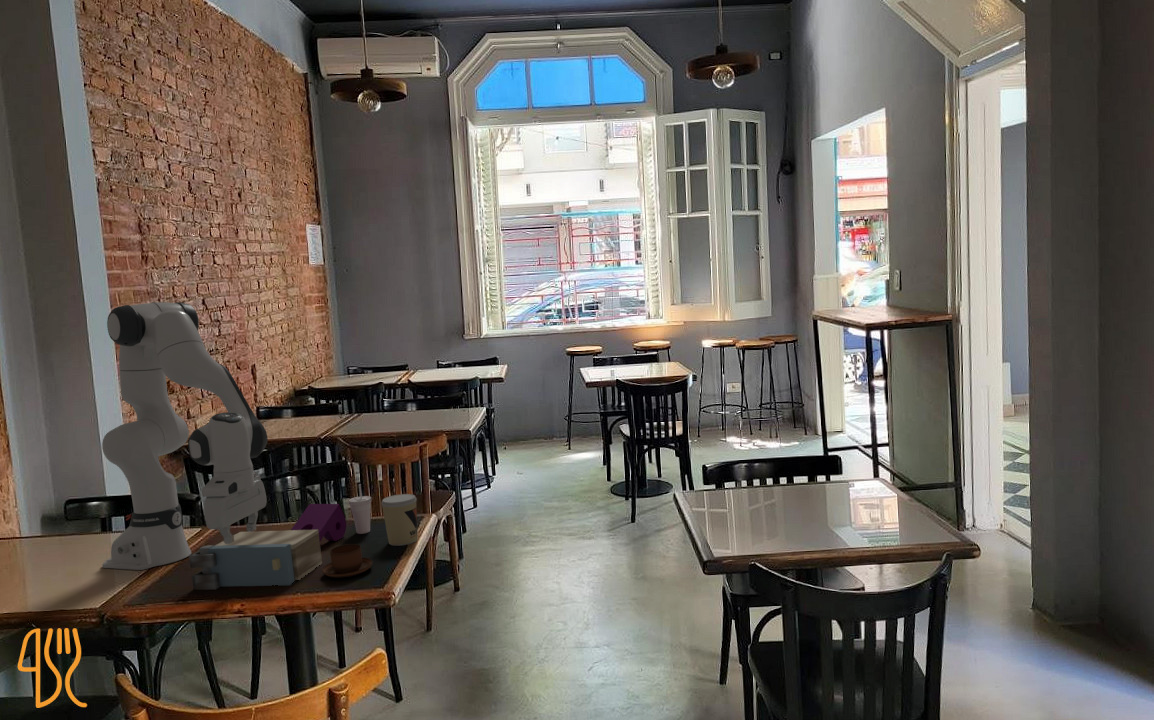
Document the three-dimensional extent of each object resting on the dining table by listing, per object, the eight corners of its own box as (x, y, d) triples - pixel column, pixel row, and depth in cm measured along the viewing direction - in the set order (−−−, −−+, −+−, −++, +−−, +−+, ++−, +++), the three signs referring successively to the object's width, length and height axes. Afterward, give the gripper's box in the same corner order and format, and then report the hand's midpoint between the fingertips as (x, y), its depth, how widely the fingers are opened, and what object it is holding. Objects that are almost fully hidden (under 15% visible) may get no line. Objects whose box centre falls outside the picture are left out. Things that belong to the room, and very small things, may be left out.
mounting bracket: (318, 575, 229) (349, 527, 244) (306, 551, 225) (339, 503, 240) (287, 574, 232) (320, 526, 247) (275, 550, 228) (309, 503, 243)
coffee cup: (416, 545, 228) (412, 501, 227) (382, 547, 228) (377, 504, 227) (423, 534, 237) (419, 492, 236) (390, 537, 237) (385, 495, 236)
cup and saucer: (312, 580, 207) (309, 555, 206) (343, 563, 218) (340, 540, 217) (353, 583, 202) (350, 557, 202) (382, 565, 213) (380, 541, 213)
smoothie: (363, 536, 241) (357, 487, 239) (347, 534, 244) (341, 486, 243) (379, 529, 246) (374, 481, 245) (363, 527, 249) (358, 480, 248)
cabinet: (193, 589, 207) (188, 553, 206) (233, 565, 223) (229, 532, 222) (288, 588, 202) (283, 551, 201) (322, 563, 218) (318, 529, 218)
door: (199, 588, 207) (194, 550, 206) (209, 582, 211) (204, 545, 210) (287, 587, 203) (282, 548, 202) (295, 581, 207) (291, 543, 206)
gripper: (247, 470, 216) (252, 524, 217) (196, 491, 196) (203, 550, 197) (269, 470, 214) (275, 523, 216) (221, 491, 194) (228, 550, 196)
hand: (240, 536), depth 206 cm, fingers open, 8 cm apart
